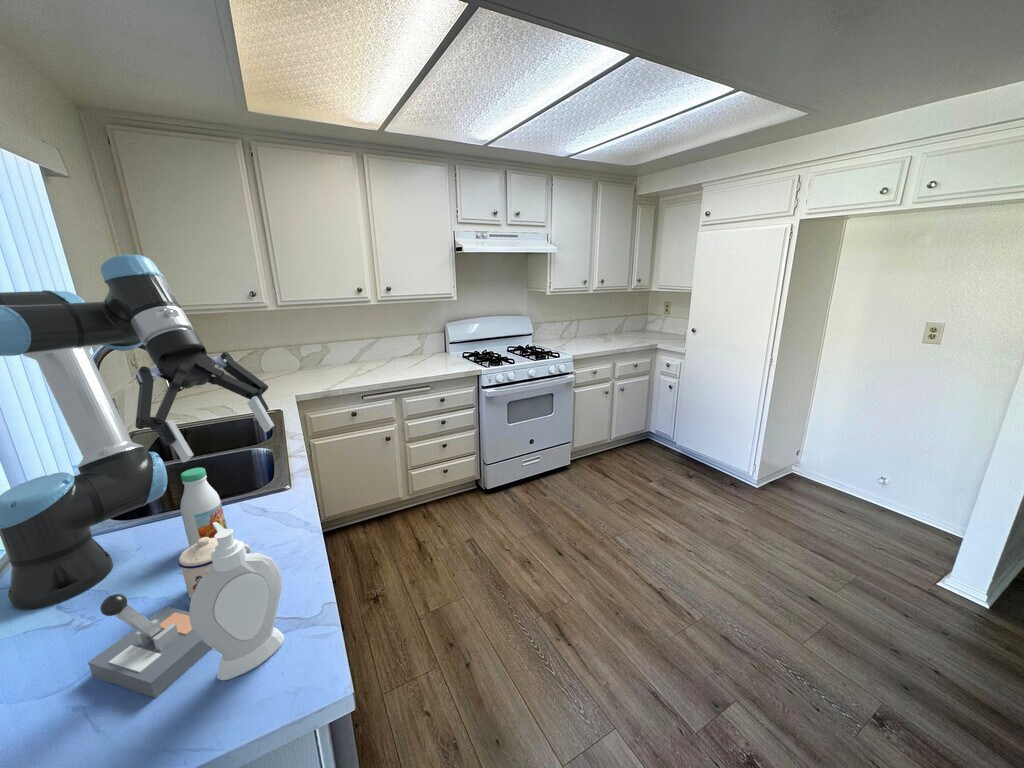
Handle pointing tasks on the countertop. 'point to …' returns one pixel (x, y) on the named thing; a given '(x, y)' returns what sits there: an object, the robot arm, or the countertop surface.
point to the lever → (129, 615)
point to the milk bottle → (200, 506)
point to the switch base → (151, 655)
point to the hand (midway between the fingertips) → (232, 442)
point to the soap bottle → (237, 606)
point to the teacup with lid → (198, 562)
